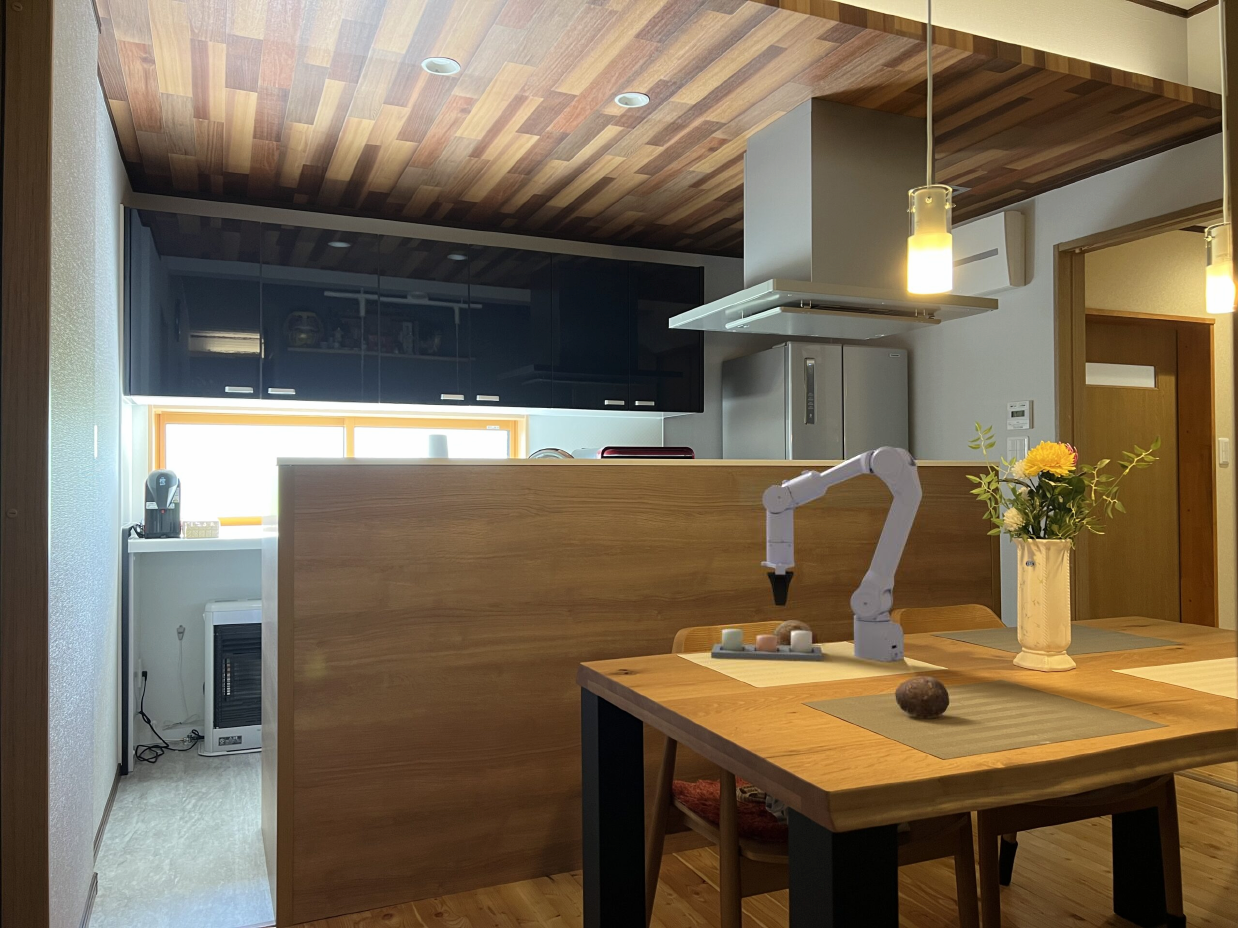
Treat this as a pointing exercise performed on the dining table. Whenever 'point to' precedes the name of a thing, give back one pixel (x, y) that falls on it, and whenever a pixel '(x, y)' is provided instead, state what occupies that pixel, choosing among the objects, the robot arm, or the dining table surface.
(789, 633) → the bread roll
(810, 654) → the grey rectangular tray
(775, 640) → the button terracotta
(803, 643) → the button ivory
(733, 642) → the button sage
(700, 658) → the dining table surface
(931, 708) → the brown rough oval lump
